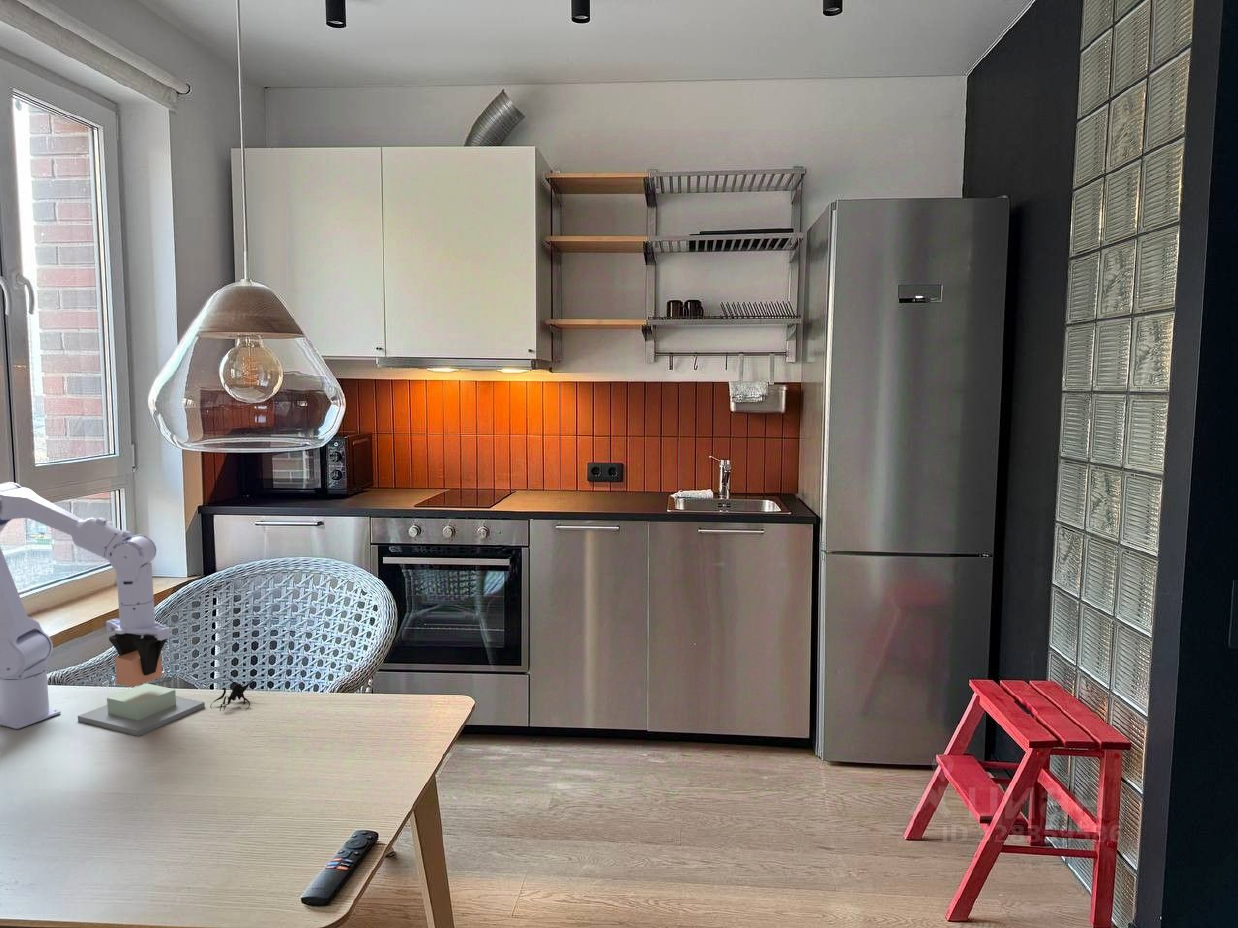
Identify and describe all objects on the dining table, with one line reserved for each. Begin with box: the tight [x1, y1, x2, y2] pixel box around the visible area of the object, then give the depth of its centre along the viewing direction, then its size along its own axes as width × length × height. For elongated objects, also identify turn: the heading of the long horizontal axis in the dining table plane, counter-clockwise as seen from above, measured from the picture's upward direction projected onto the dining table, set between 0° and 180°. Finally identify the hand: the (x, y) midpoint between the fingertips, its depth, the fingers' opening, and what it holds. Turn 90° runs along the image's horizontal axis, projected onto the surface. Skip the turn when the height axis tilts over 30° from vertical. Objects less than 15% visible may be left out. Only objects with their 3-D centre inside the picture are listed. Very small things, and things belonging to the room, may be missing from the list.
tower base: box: [77, 682, 206, 737], centre depth 156 cm, size 16×14×4 cm
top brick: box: [114, 650, 163, 688], centre depth 155 cm, size 4×6×5 cm
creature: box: [210, 676, 256, 712], centre depth 160 cm, size 8×5×8 cm
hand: (140, 671), depth 155 cm, fingers closed on top brick, 4 cm apart
